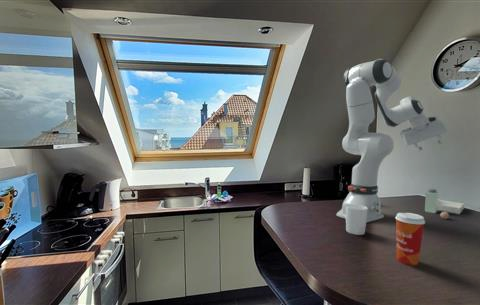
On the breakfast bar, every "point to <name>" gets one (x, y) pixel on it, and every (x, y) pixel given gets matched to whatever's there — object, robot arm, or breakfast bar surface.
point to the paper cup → (409, 237)
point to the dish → (450, 206)
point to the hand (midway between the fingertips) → (430, 146)
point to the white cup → (356, 219)
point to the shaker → (431, 201)
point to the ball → (444, 215)
